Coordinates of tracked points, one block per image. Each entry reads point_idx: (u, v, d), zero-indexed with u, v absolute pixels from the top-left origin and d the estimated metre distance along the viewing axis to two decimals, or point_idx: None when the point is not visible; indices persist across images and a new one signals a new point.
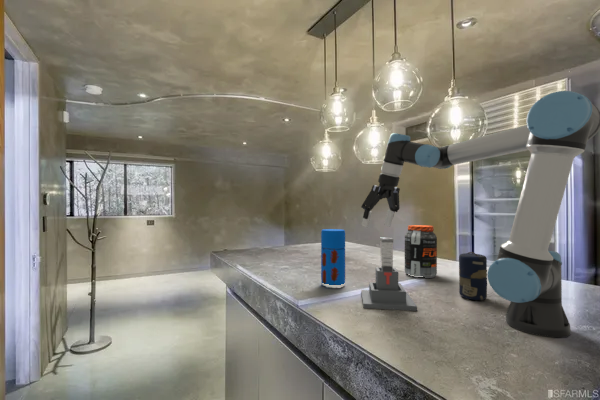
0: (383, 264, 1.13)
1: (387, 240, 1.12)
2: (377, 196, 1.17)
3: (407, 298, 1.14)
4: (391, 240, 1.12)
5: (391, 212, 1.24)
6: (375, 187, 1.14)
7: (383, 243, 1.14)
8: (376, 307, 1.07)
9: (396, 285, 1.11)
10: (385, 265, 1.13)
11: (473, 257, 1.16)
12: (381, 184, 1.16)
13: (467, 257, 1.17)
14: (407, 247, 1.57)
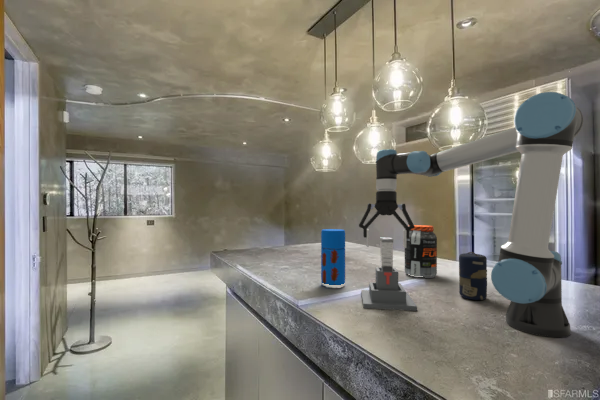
0: (383, 264, 1.13)
1: (387, 240, 1.12)
2: (374, 214, 1.16)
3: (407, 298, 1.14)
4: (391, 240, 1.12)
5: (403, 231, 1.14)
6: None
7: (383, 243, 1.14)
8: (376, 307, 1.07)
9: (396, 285, 1.11)
10: (385, 265, 1.13)
11: (473, 257, 1.16)
12: (376, 201, 1.16)
13: (467, 257, 1.17)
14: (407, 247, 1.57)
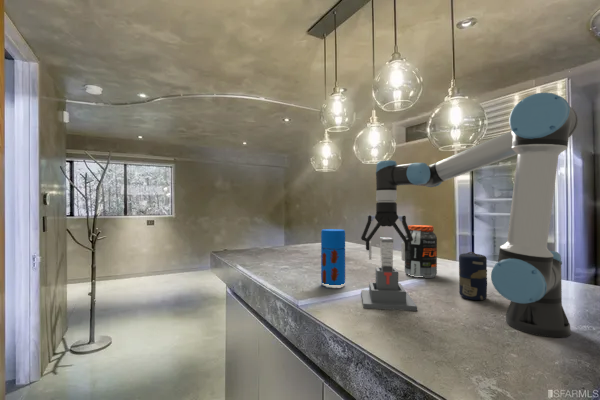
0: (383, 264, 1.13)
1: (387, 240, 1.12)
2: None
3: (407, 298, 1.14)
4: (391, 240, 1.12)
5: (402, 244, 1.14)
6: (368, 216, 1.16)
7: (383, 243, 1.14)
8: (376, 307, 1.07)
9: (396, 285, 1.11)
10: (385, 265, 1.13)
11: (473, 257, 1.16)
12: (376, 212, 1.16)
13: (467, 257, 1.17)
14: None
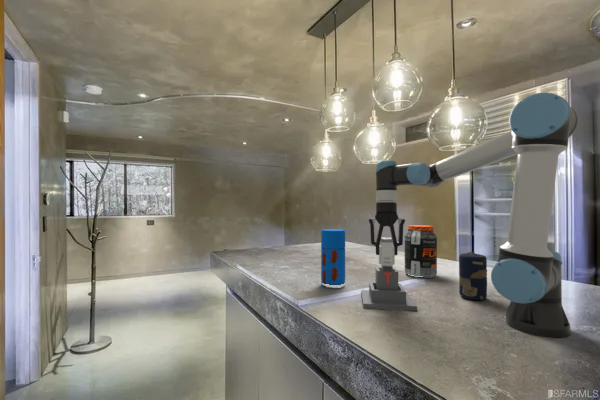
0: (383, 264, 1.13)
1: (387, 240, 1.12)
2: (379, 228, 1.16)
3: (407, 298, 1.14)
4: (391, 240, 1.12)
5: None
6: None
7: (383, 243, 1.14)
8: (376, 307, 1.07)
9: (396, 285, 1.11)
10: (385, 265, 1.13)
11: (473, 257, 1.16)
12: None
13: (467, 257, 1.17)
14: (407, 247, 1.57)
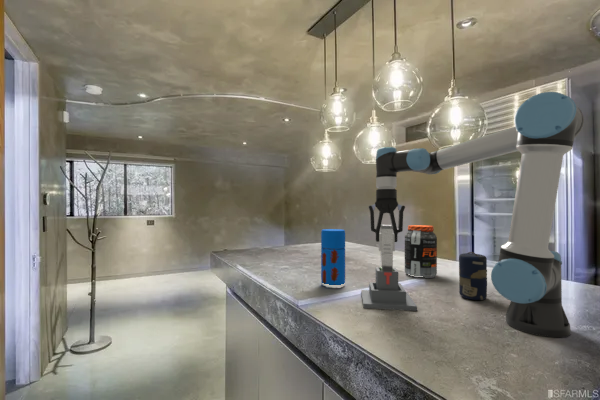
0: (383, 251, 1.13)
1: (387, 227, 1.12)
2: (379, 215, 1.16)
3: (407, 298, 1.14)
4: (391, 226, 1.12)
5: None
6: (368, 207, 1.16)
7: (383, 230, 1.14)
8: (376, 307, 1.07)
9: (396, 285, 1.11)
10: (385, 252, 1.13)
11: (473, 257, 1.16)
12: None
13: (467, 257, 1.17)
14: (407, 247, 1.57)
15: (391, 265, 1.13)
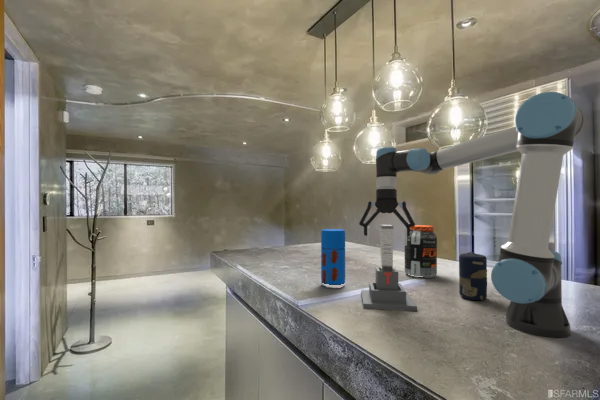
0: (383, 251, 1.13)
1: (387, 226, 1.12)
2: (375, 212, 1.16)
3: (407, 298, 1.14)
4: (391, 226, 1.12)
5: (404, 229, 1.14)
6: (368, 202, 1.16)
7: (383, 230, 1.14)
8: (376, 307, 1.07)
9: (396, 285, 1.11)
10: (385, 252, 1.13)
11: (473, 257, 1.16)
12: (376, 199, 1.16)
13: (467, 257, 1.17)
14: (407, 247, 1.57)
15: (391, 265, 1.13)
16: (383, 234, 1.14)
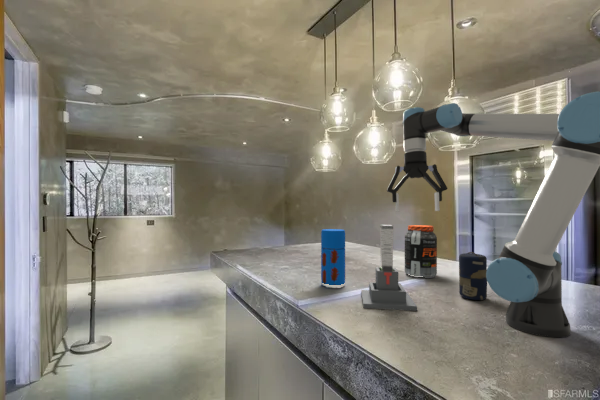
0: (383, 251, 1.13)
1: (387, 226, 1.12)
2: (404, 177, 1.10)
3: (407, 298, 1.14)
4: (391, 226, 1.12)
5: (436, 193, 1.07)
6: (396, 167, 1.10)
7: (383, 230, 1.14)
8: (376, 307, 1.07)
9: (396, 285, 1.11)
10: (385, 252, 1.13)
11: (473, 257, 1.16)
12: (404, 163, 1.10)
13: (467, 257, 1.17)
14: (407, 247, 1.57)
15: (391, 265, 1.13)
16: (383, 234, 1.14)
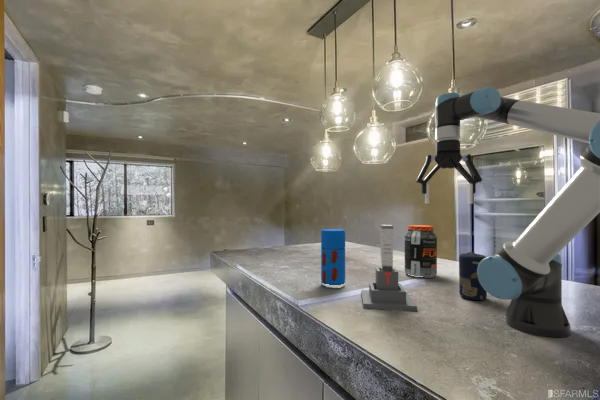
0: (383, 251, 1.13)
1: (387, 226, 1.12)
2: (435, 167, 1.03)
3: (407, 298, 1.14)
4: (391, 226, 1.12)
5: (469, 185, 1.01)
6: (427, 157, 1.04)
7: (383, 230, 1.14)
8: (376, 307, 1.07)
9: (396, 285, 1.11)
10: (385, 252, 1.13)
11: (473, 257, 1.16)
12: (436, 153, 1.04)
13: (467, 257, 1.17)
14: (407, 247, 1.57)
15: (391, 265, 1.13)
16: (383, 234, 1.14)
